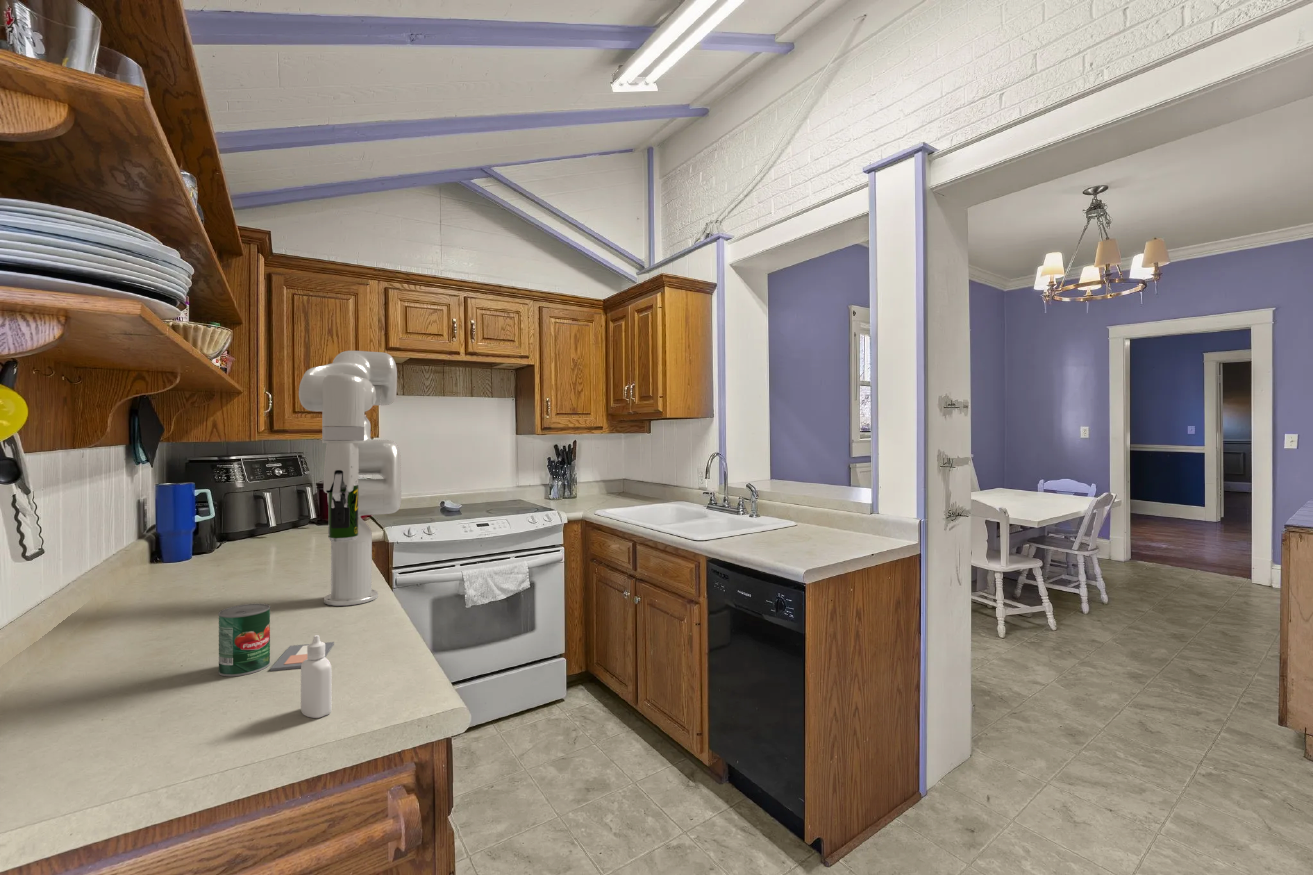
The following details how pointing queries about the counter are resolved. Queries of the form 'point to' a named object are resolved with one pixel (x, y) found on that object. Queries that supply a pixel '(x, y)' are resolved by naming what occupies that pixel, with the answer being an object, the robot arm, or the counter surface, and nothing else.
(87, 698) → the counter surface
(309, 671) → the eye dropper bottle
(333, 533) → the beer can
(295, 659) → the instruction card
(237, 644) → the canned tomato
